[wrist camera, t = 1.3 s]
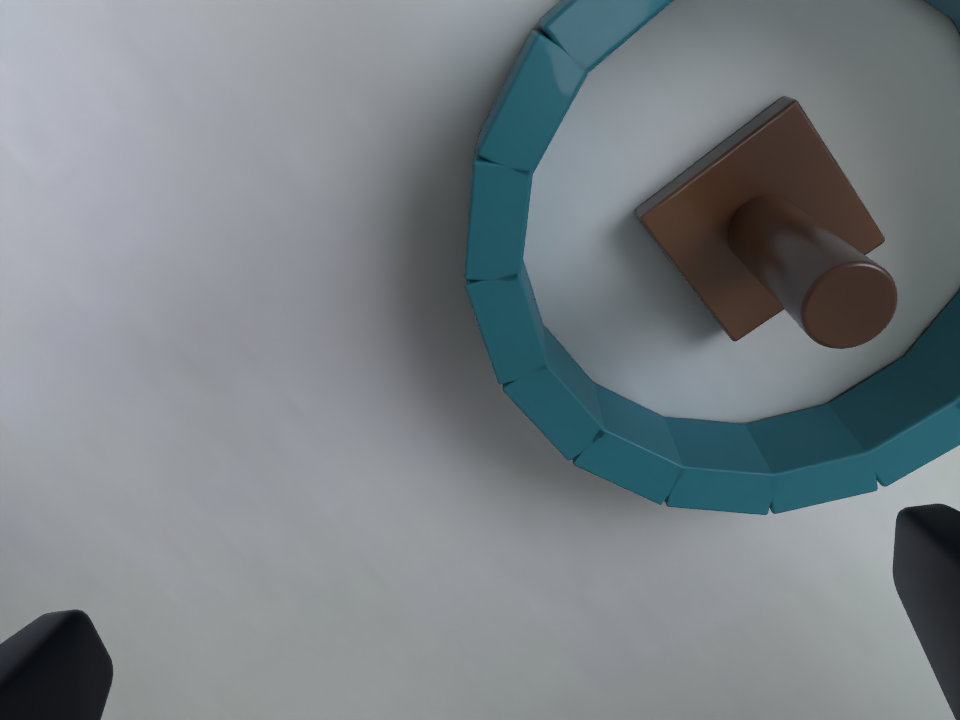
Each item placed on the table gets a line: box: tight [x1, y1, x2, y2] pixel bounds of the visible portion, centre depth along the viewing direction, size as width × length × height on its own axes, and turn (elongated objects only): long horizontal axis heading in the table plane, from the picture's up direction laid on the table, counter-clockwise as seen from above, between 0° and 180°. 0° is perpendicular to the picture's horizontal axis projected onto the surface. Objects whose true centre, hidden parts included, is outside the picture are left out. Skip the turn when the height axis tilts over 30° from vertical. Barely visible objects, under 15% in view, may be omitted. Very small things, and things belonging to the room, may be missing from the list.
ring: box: [464, 0, 960, 515], centre depth 17 cm, size 13×13×2 cm
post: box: [635, 96, 897, 349], centre depth 15 cm, size 4×4×6 cm
